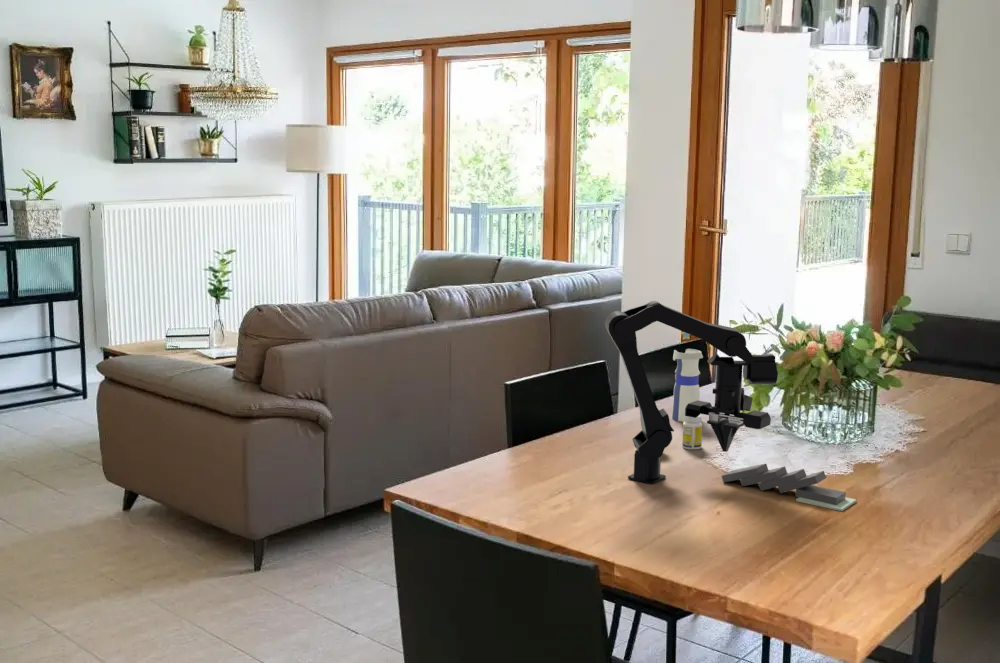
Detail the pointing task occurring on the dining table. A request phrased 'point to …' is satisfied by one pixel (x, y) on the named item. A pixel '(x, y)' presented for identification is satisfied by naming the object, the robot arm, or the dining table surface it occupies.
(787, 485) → the domino
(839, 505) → the pad
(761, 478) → the domino
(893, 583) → the dining table surface
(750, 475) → the domino
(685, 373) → the water bottle
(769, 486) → the domino
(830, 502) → the domino
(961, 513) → the dining table surface
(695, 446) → the supplement bottle
